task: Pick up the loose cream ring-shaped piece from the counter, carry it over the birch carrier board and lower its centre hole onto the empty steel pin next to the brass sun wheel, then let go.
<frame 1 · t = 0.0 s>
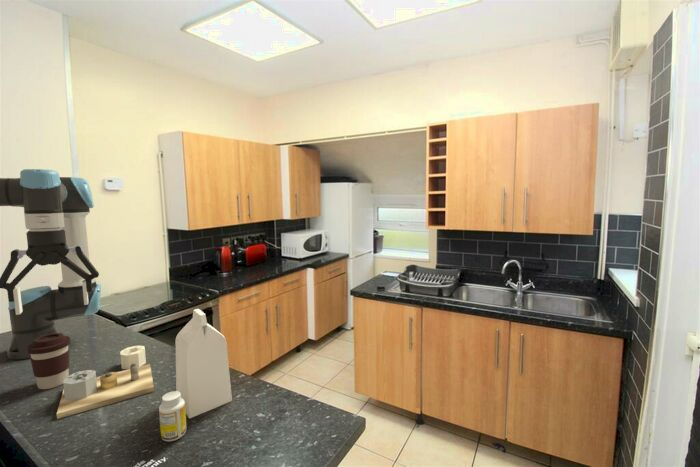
hand: (54, 308, 90), 28 cm above the counter, tool pointing down, fingers open, 13 cm apart
carrier: (109, 390, 100), on the counter
supplement bottle: (174, 435, 82), on the counter
cream ring-shaped piece: (133, 364, 115), on the counter
coffee cup: (53, 383, 104), on the counter
seated gear: (81, 397, 96), resting on carrier
milk: (204, 400, 96), on the counter
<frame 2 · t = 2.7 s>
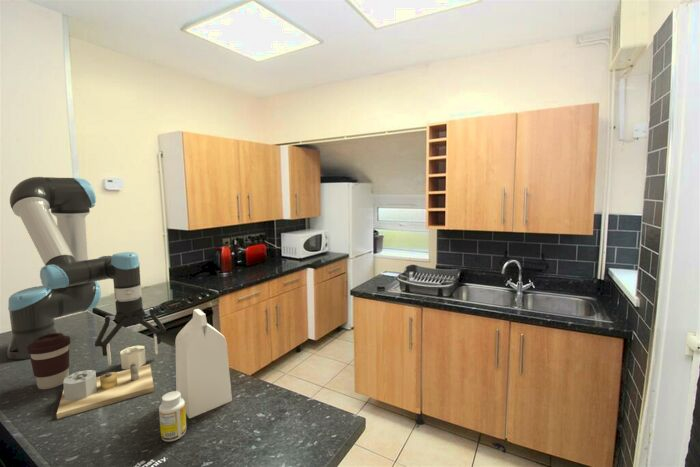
hand: (133, 358, 115), 2 cm above the counter, tool pointing down, fingers open, 13 cm apart
nothing on the counter moved.
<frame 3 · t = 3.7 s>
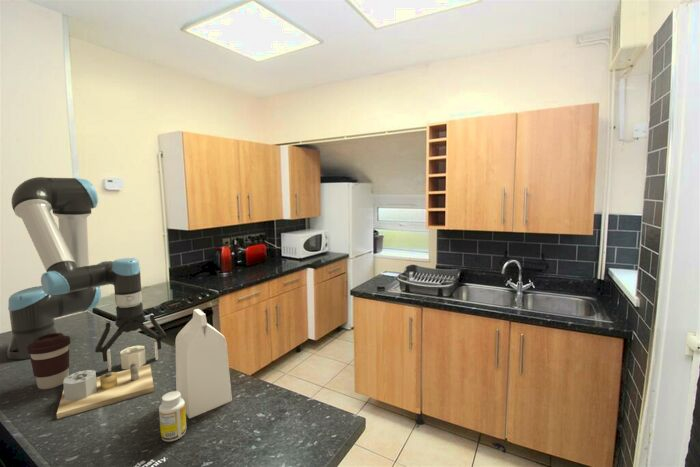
hand: (134, 363, 115), 0 cm above the counter, tool pointing down, fingers open, 13 cm apart
nothing on the counter moved.
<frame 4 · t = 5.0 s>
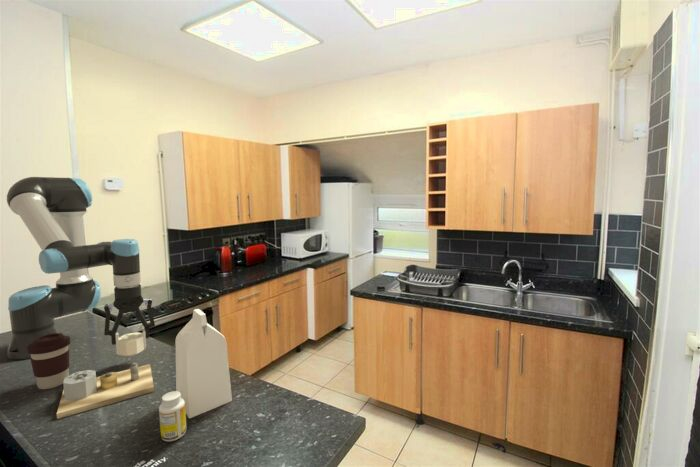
hand: (131, 349, 115), 5 cm above the counter, tool pointing down, fingers closed on cream ring-shaped piece, 7 cm apart
cream ring-shaped piece: (131, 350, 115), point 5 cm above the counter, touching gripper
everything else where it was.
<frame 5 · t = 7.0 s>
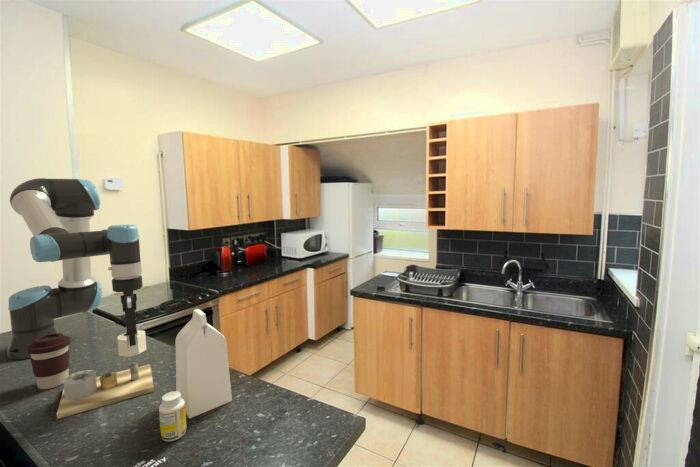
hand: (133, 349, 102), 11 cm above the counter, tool pointing down, fingers closed on cream ring-shaped piece, 7 cm apart
cream ring-shaped piece: (132, 350, 102), point 11 cm above the counter, touching gripper
everything else where it was.
when the fingers open (3 cm above the counter, at t = 9.0 s): cream ring-shaped piece stays where it is, resting on carrier.
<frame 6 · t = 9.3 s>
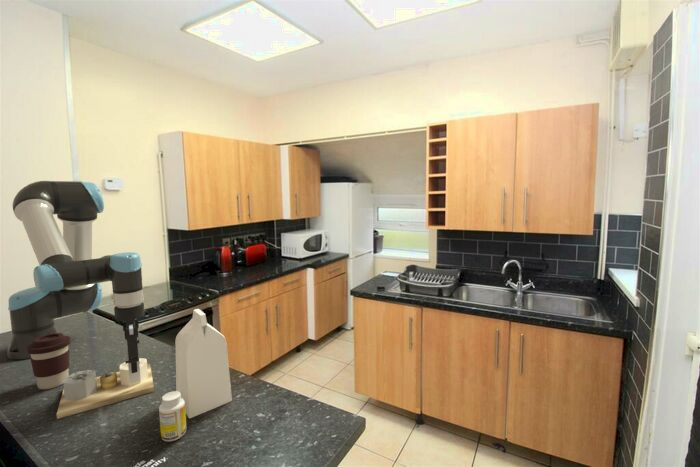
hand: (134, 373, 103), 3 cm above the counter, tool pointing down, fingers open, 11 cm apart
cream ring-shaped piece: (134, 379, 103), point 1 cm above the counter, touching carrier
everything else where it was.
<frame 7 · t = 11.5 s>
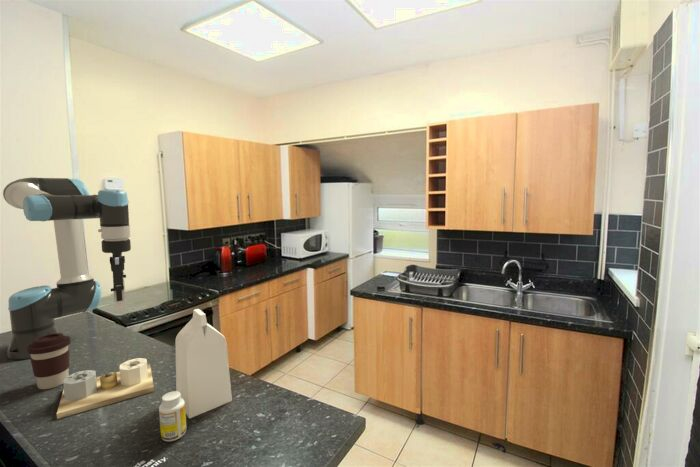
hand: (120, 303, 108), 23 cm above the counter, tool pointing down, fingers open, 13 cm apart
nothing on the counter moved.
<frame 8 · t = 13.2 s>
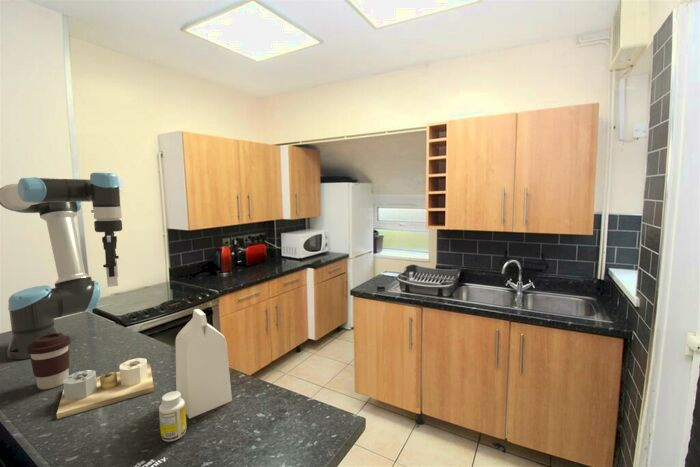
hand: (113, 281, 114), 29 cm above the counter, tool pointing down, fingers open, 13 cm apart
nothing on the counter moved.
at the end: cream ring-shaped piece 0.1 cm from the target spot on the carrier, point 1.5 cm above the carrier's base; cream ring-shaped piece tilted 0°; the gripper is holding nothing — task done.
